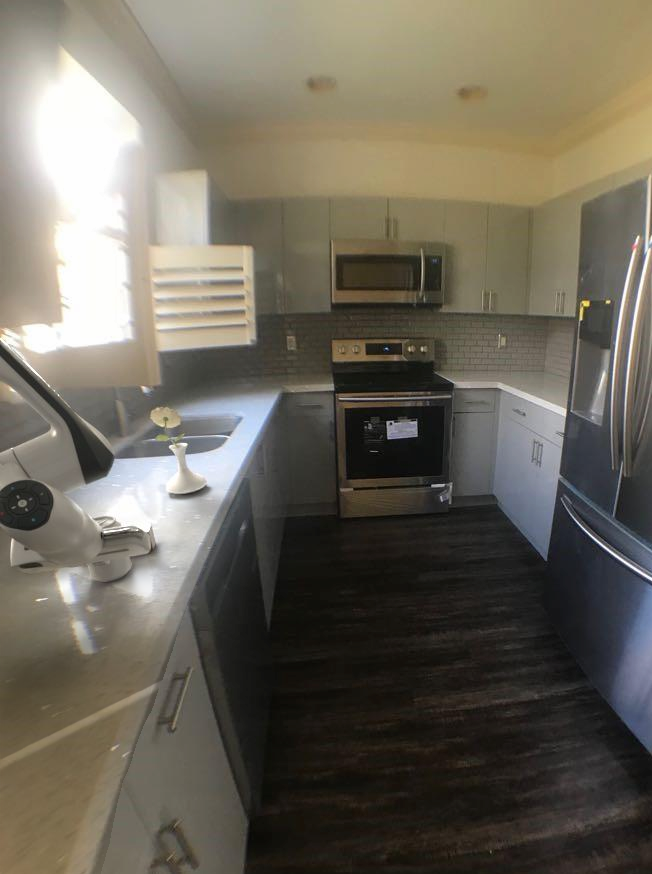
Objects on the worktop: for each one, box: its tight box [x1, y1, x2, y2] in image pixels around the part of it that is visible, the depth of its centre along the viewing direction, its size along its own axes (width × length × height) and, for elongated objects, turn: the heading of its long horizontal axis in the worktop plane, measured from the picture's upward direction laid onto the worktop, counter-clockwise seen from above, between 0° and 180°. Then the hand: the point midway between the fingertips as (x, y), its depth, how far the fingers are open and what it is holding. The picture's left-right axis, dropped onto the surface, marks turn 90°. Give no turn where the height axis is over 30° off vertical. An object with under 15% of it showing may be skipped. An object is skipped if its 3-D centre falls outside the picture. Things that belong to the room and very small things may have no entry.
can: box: [86, 515, 133, 583], centre depth 92 cm, size 8×8×12 cm
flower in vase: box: [149, 406, 208, 495], centre depth 132 cm, size 13×11×25 cm
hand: (101, 561), depth 88 cm, fingers closed, pressing on can
